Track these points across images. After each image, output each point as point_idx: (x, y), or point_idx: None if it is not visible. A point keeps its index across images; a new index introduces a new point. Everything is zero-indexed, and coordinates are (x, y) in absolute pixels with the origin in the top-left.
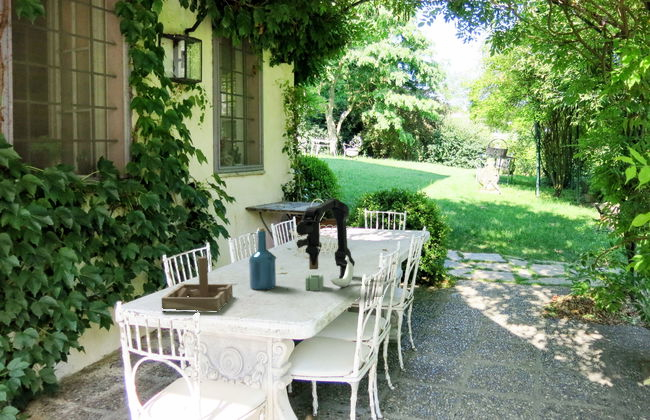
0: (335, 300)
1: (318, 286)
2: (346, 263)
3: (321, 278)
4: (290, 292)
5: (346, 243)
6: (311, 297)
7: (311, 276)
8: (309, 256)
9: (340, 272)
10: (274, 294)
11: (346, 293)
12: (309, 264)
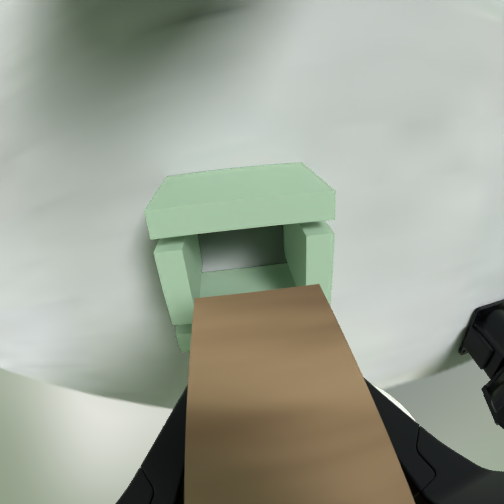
0: (29, 366)
1: (285, 251)
2: (494, 395)
3: (180, 348)
4: (85, 79)
5: None
6: (15, 262)
7: (304, 235)
8: (184, 499)
9: (500, 324)
10: (27, 4)
11: (158, 398)
12: (190, 353)
